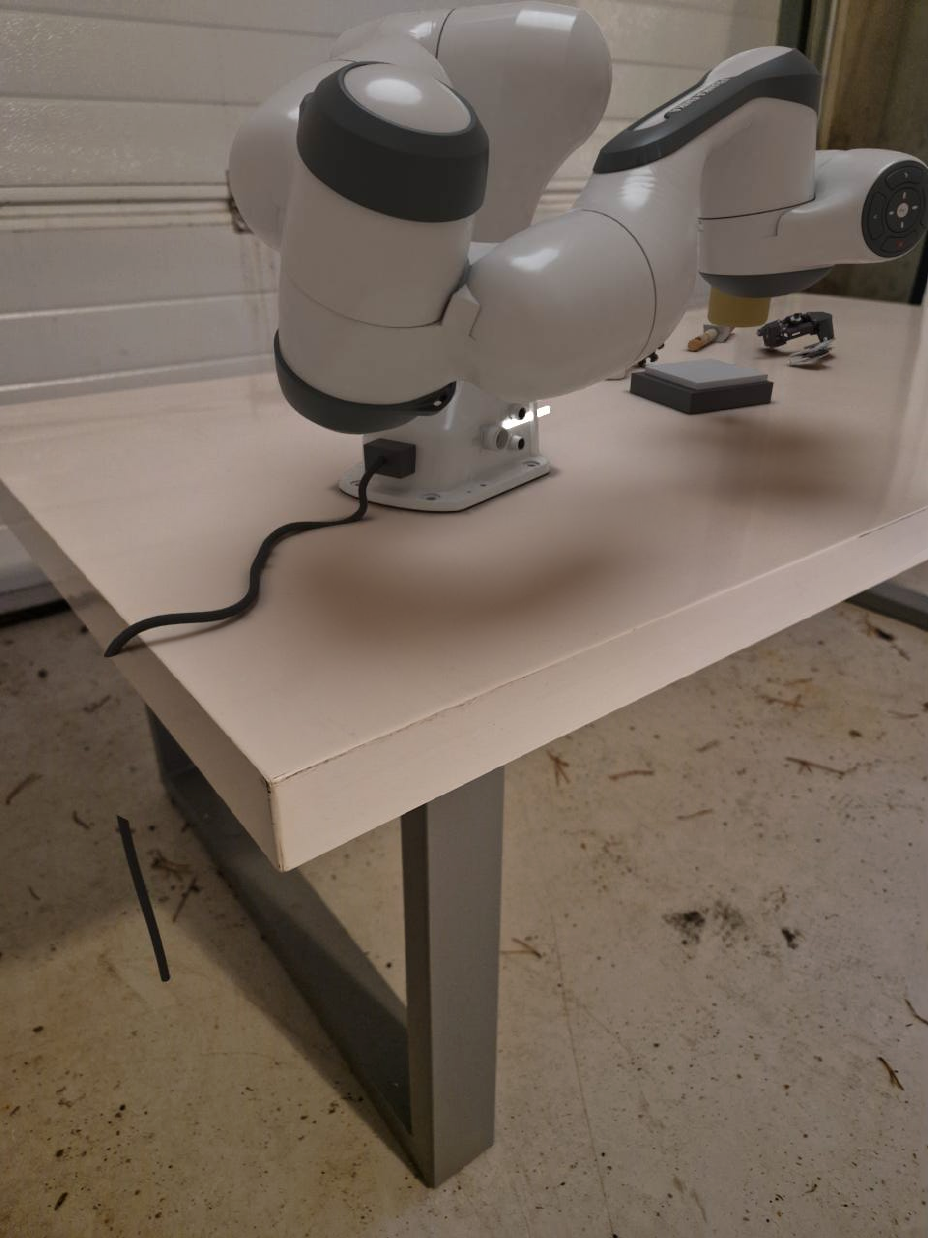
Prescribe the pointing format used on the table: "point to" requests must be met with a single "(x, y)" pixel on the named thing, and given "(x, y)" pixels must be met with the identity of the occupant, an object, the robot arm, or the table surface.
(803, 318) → the bicycle component
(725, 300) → the paper tube
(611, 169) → the robot arm
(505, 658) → the table surface
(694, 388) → the scale
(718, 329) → the paintbrush
